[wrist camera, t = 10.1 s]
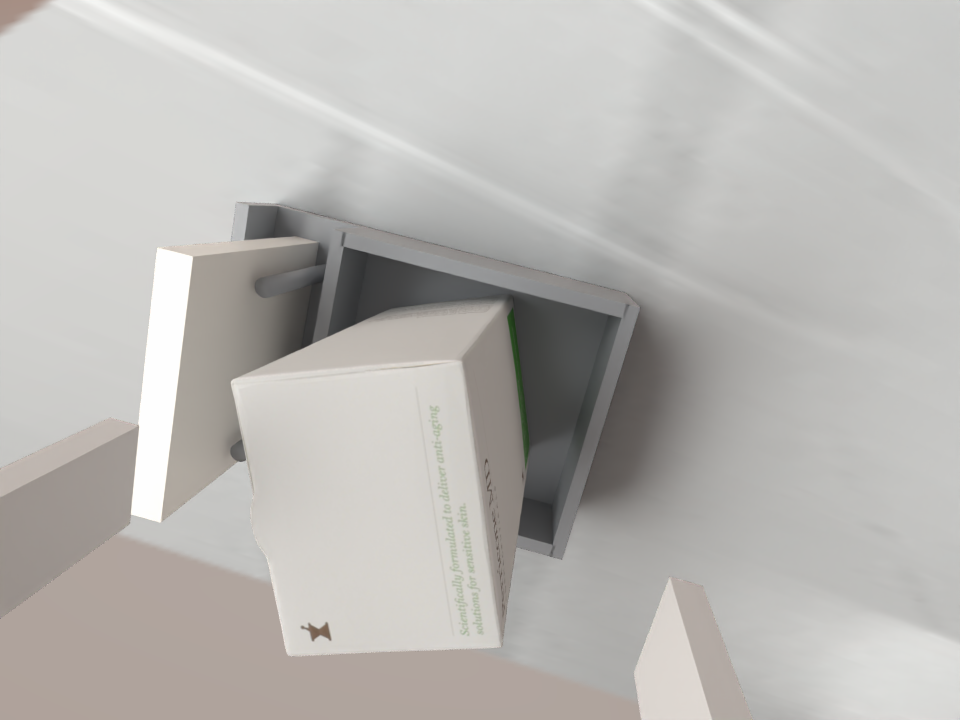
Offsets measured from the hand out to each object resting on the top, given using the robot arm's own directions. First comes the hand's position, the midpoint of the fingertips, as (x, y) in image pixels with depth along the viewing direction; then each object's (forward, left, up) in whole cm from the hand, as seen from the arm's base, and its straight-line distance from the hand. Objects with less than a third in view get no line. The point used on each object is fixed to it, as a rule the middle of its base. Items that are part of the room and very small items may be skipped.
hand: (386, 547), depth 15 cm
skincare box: (+1, 0, -17) cm, 17 cm away
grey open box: (+3, 0, -18) cm, 18 cm away
